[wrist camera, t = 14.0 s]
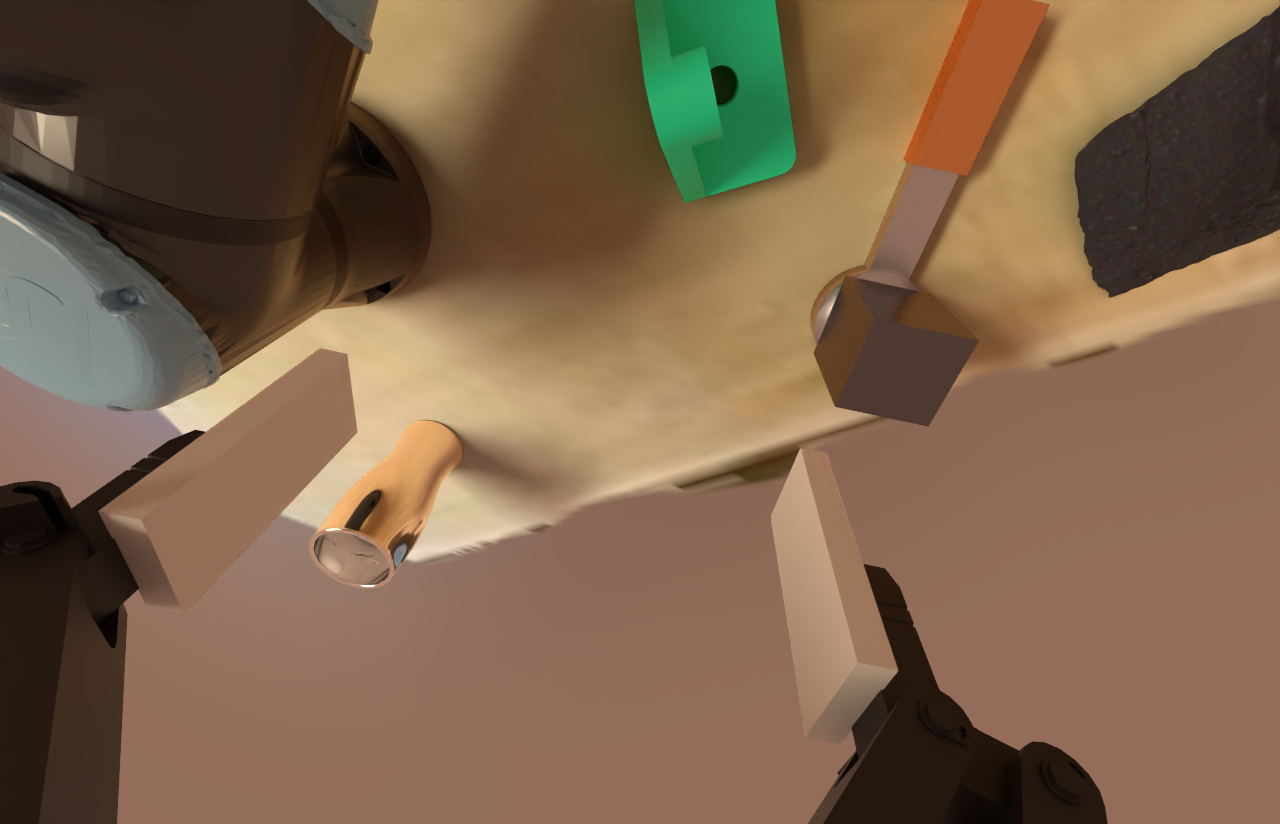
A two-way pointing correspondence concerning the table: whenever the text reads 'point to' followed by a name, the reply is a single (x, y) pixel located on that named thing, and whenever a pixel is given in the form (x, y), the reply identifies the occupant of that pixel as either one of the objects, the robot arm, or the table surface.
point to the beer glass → (386, 508)
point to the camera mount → (685, 99)
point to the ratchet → (945, 139)
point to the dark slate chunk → (1187, 167)
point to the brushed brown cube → (891, 351)
